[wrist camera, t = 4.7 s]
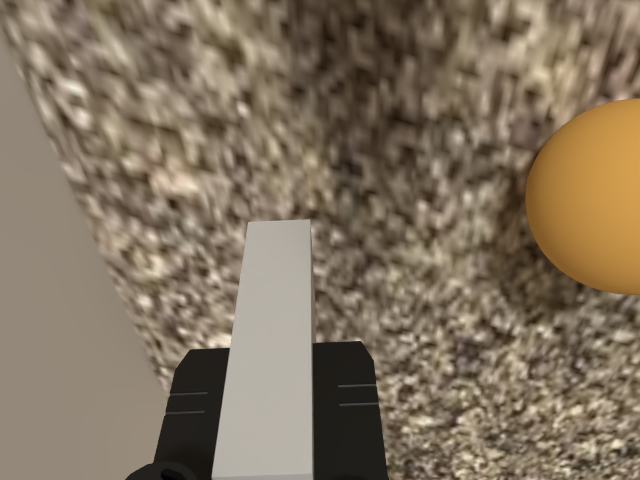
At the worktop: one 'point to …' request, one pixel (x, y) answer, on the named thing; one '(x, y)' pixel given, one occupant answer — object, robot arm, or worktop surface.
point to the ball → (591, 198)
